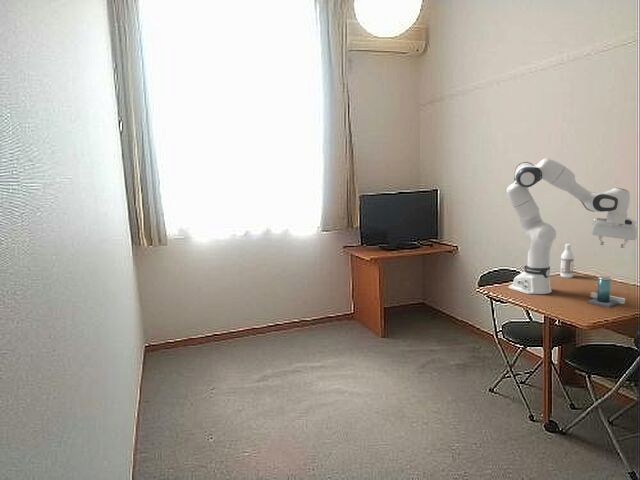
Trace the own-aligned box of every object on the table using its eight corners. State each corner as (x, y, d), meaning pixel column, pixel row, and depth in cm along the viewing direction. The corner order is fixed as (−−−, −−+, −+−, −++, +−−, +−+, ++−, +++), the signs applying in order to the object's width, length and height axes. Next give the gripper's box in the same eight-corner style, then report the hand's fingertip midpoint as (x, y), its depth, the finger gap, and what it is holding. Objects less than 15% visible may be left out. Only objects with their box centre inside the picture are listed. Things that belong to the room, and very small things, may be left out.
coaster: (587, 303, 247) (587, 300, 247) (597, 299, 253) (597, 296, 252) (608, 307, 239) (608, 305, 239) (618, 303, 244) (618, 301, 244)
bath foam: (569, 278, 294) (570, 245, 290) (558, 276, 300) (559, 244, 296) (575, 276, 298) (576, 244, 294) (564, 274, 303) (565, 242, 300)
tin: (594, 300, 246) (595, 277, 244) (600, 298, 249) (601, 275, 247) (606, 303, 242) (607, 279, 240) (611, 301, 245) (613, 277, 243)
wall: (590, 297, 256) (590, 292, 256) (591, 296, 257) (592, 292, 257) (623, 303, 243) (623, 299, 243) (624, 303, 244) (624, 298, 244)
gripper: (592, 217, 256) (588, 243, 258) (638, 222, 243) (633, 249, 244) (595, 217, 261) (591, 242, 262) (640, 222, 247) (635, 249, 249)
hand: (612, 246), depth 253 cm, fingers open, 8 cm apart
